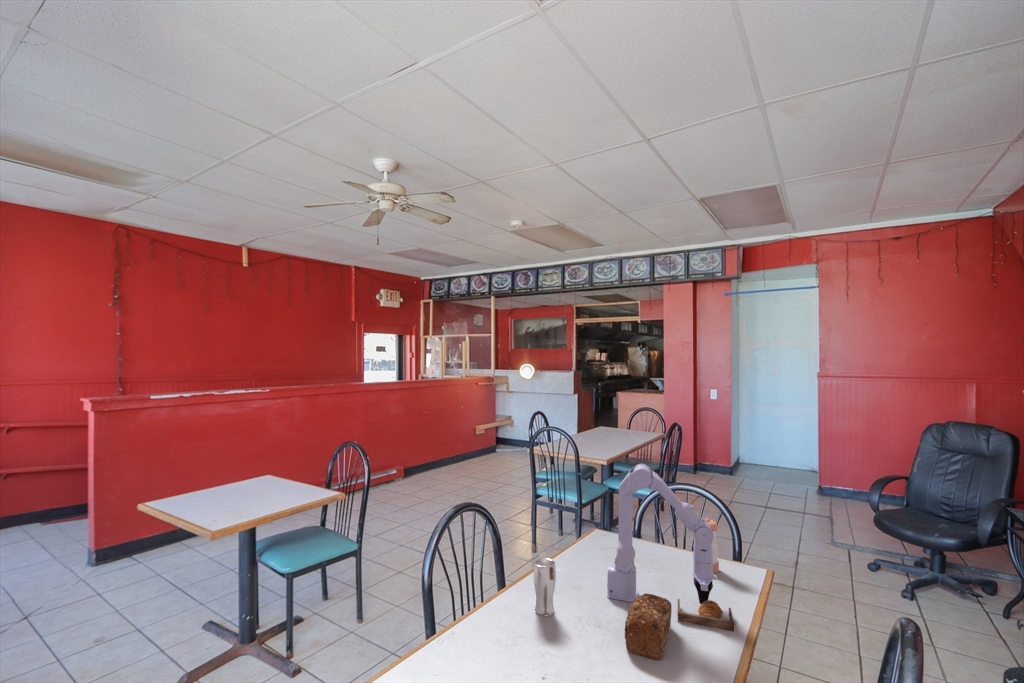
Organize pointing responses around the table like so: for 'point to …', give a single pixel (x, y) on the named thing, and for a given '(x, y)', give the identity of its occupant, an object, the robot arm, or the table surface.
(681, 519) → the robot arm
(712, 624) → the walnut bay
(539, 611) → the beer glass
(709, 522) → the pepper shaker
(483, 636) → the table surface
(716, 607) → the pastry
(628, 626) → the bread
